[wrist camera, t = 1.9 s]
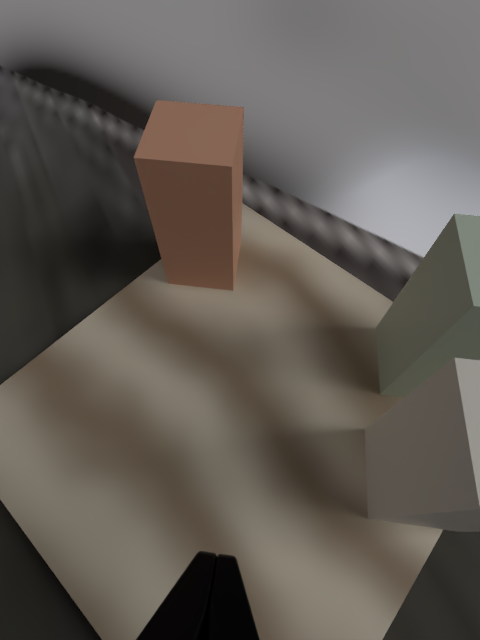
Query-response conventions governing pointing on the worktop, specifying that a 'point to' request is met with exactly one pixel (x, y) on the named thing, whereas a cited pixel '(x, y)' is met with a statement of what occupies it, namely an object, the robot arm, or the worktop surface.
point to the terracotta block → (194, 190)
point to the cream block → (429, 453)
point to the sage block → (433, 312)
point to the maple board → (214, 447)
